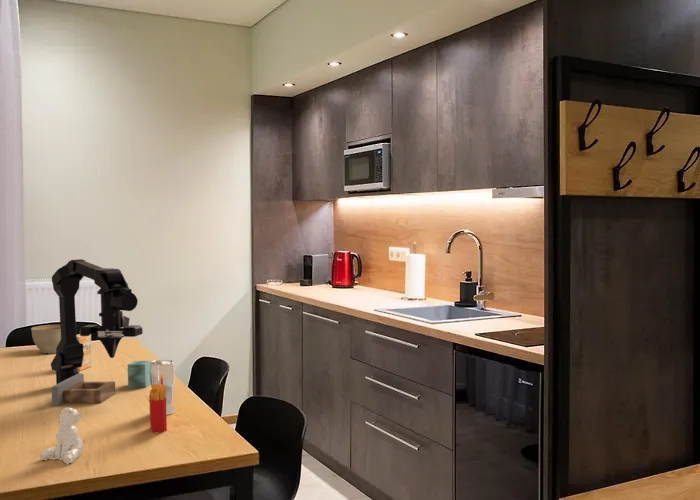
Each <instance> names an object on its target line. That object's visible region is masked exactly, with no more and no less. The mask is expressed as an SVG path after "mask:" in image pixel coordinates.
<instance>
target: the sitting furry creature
mask: <svg viewBox="0 0 700 500" xmlns="http://www.w3.org/2000/svg"><path fill="white" fill-rule="evenodd" d="M82 417H83V412H79V411H78V410H77V409H75V408H73V407H70V406H69V407H64V408H63V409H62V410H61V412H60V414H59V417H58V418H59V419H58V420H59V421H58V423H59V426H60V427H59V428H58V431H57V433H56V434H55V438H56V446H52V447H48V448H46V449H44V450H43V451H42V452H39V455H38V456H39V459H40V460H41V459H42V460H45V459H50V458H55V459H60V458H61V460H64V461H63V463H64V464H65V463H71V462H73V461H74V460H75V461H76V460H77V459H78V458H77V457H80V455H81V454H82V453H83V448H84V442H83V439H81V436H80V434H79V430H78V429H77V427H76V426H75V425H76V424H77V423H78V422H79V420H80V419H81V418H82ZM76 458H77V459H76ZM42 460H41V461H42ZM61 460H60V461H61ZM75 461H74V462H75ZM74 462H73V463H74ZM71 464H72V463H71Z"/></svg>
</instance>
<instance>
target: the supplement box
mask: <svg viewBox="0 0 700 500" xmlns="http://www.w3.org/2000/svg"><path fill="white" fill-rule="evenodd" d="M76 336H77V340H78V341H79V342H80V344H81V343H82V344H83V353H84V357H83V362H82V367H78V372H81V371H83V370H86V369H89V368H92V364H93V363H92V333H91V334H90V335H89V336H80V333H79V334H76Z"/></svg>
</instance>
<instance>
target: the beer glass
mask: <svg viewBox="0 0 700 500" xmlns="http://www.w3.org/2000/svg"><path fill="white" fill-rule="evenodd" d="M174 363H175V362H174V360H171V359H159V360H153V361H151V363H150V364H151V365H150V383H151V384H150V387H151V389H152V385H153V384H157V385H158V384H159V386H160V385H161V384H162V385H165V386H166V387H165V388H166V391H165V397H166V416H168V415H172V414H174V413H175V408H174V404H173V398H174V397H173V396H174V394H173V393H174V389H175V380H176V379H175V378H176V375H175V374H176V373H175V366H174V365H175V364H174Z"/></svg>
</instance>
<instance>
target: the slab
mask: <svg viewBox="0 0 700 500" xmlns="http://www.w3.org/2000/svg"><path fill="white" fill-rule="evenodd" d="M84 375H85V374H84V373H79V374H76V375H74V376H72V377H70V378H68V379H66V380H64V381H62V382H60V383H58V384H54V385H52V386H51V407H60V406H62V405H63V404H65V403H64V390H66V389H67V388H69V387H71V386H73V385H75V384H77V383H79V382H85V376H84Z"/></svg>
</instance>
